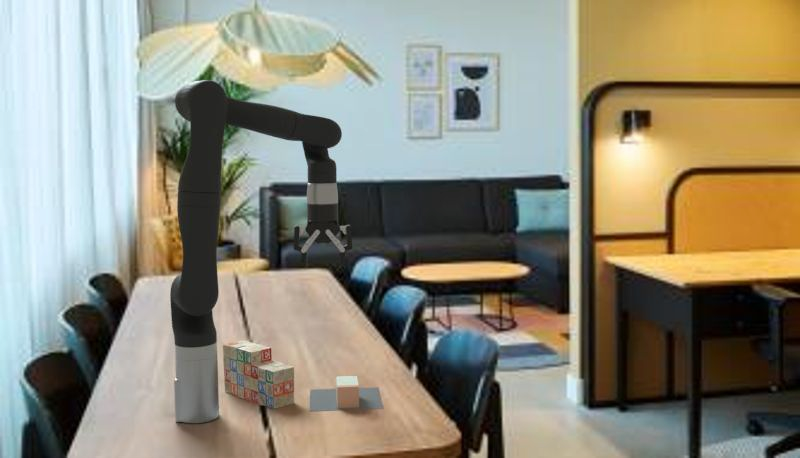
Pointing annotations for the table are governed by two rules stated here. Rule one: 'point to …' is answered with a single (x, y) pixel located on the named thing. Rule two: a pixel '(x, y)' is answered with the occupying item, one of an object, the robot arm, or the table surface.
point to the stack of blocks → (257, 375)
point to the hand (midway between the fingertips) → (323, 267)
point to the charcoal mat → (328, 399)
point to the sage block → (347, 392)
